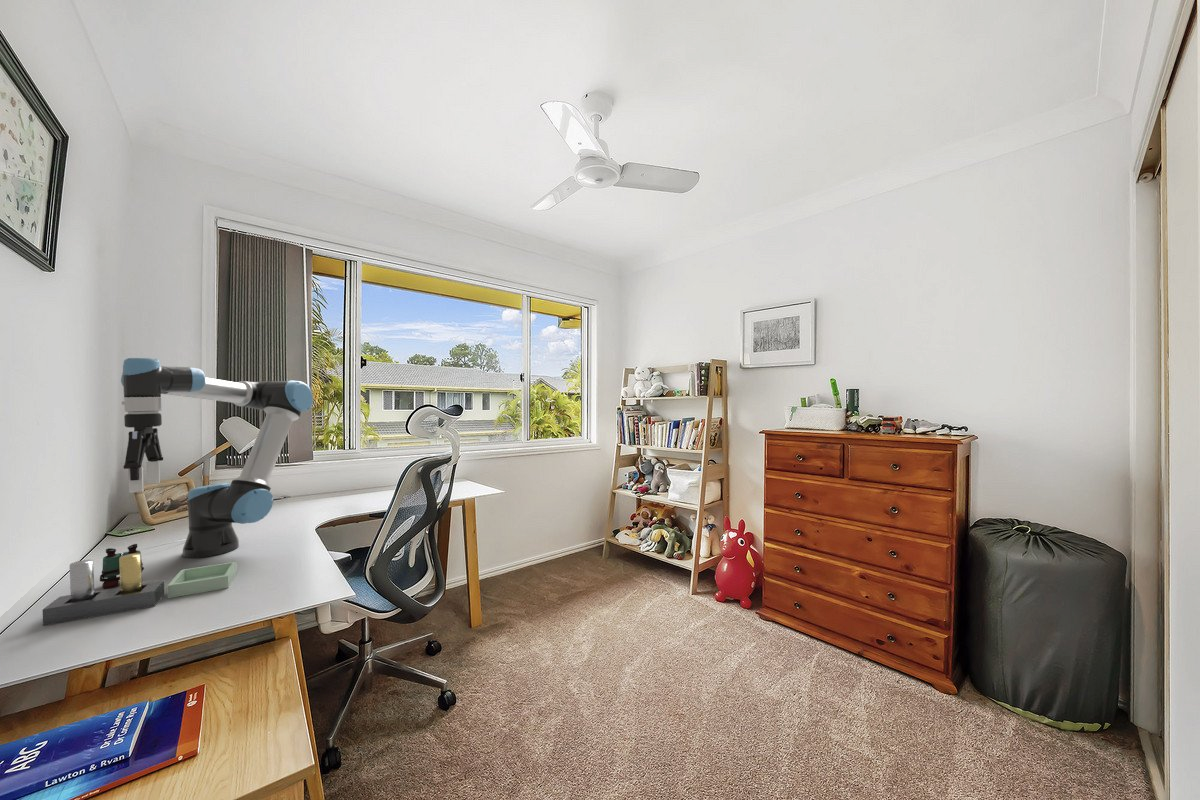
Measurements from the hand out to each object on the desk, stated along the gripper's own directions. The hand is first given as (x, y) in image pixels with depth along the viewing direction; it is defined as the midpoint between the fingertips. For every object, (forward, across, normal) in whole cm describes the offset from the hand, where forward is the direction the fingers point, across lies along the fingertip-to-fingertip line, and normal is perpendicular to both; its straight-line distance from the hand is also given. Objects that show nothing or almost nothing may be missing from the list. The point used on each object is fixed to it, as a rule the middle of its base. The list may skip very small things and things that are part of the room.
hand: (145, 487), depth 133 cm
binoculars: (+29, -8, -8) cm, 31 cm away
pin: (+29, +12, -9) cm, 33 cm away
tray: (+29, +5, +14) cm, 32 cm away
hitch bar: (+29, +12, -4) cm, 32 cm away
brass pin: (+29, +12, 0) cm, 31 cm away
